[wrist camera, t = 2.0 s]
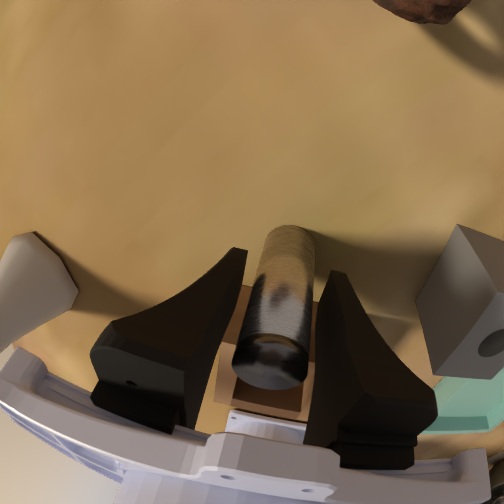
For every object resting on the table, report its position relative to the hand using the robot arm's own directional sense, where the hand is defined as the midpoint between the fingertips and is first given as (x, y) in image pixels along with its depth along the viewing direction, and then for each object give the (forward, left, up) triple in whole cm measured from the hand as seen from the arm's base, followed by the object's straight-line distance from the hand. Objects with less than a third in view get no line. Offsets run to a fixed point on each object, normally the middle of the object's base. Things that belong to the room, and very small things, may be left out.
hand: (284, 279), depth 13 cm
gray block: (+1, -10, -2) cm, 10 cm away
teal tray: (-8, -19, -2) cm, 21 cm away
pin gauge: (0, 0, -2) cm, 2 cm away
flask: (-7, +17, -3) cm, 19 cm away
